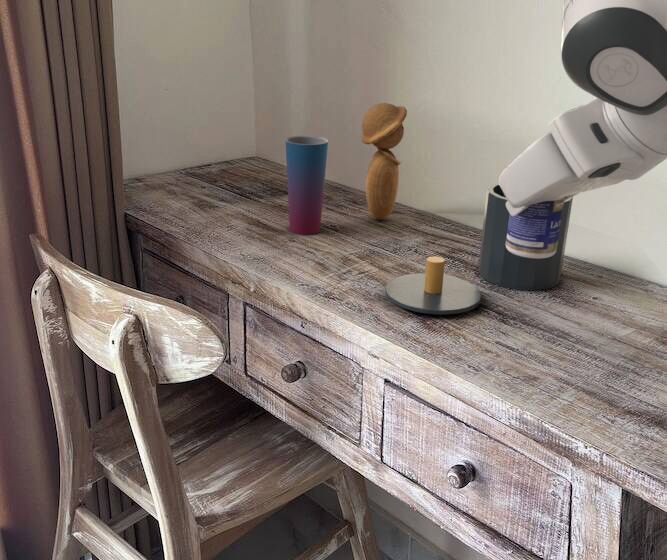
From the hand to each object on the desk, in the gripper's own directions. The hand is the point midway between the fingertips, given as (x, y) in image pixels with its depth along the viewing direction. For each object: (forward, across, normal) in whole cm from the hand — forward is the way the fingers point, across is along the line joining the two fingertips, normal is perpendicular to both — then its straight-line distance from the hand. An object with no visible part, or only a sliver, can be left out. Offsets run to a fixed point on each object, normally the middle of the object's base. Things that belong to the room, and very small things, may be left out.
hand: (532, 204), depth 91 cm
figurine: (+44, -19, -20) cm, 52 cm away
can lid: (+22, -2, +1) cm, 23 cm away
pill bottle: (+4, 0, +4) cm, 6 cm away
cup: (+46, -5, -22) cm, 51 cm away
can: (+22, -19, +2) cm, 29 cm away
